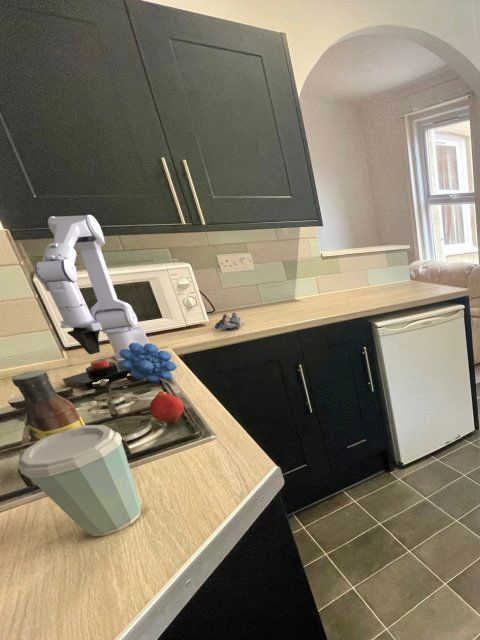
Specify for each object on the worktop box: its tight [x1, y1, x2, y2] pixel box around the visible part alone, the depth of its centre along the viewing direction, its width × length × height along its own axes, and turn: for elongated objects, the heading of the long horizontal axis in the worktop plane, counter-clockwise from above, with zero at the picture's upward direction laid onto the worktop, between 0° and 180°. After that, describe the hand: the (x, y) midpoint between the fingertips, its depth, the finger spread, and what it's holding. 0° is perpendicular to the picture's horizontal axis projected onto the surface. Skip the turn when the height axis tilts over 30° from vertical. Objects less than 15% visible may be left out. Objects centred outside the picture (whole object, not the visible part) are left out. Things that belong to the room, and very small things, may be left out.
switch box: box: [62, 361, 131, 391], centre depth 122 cm, size 14×11×4 cm
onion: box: [149, 390, 185, 424], centre depth 93 cm, size 6×6×8 cm
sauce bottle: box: [11, 369, 86, 442], centre depth 75 cm, size 7×6×20 cm
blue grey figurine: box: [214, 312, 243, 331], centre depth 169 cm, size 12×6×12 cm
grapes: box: [119, 343, 178, 384], centre depth 115 cm, size 12×7×12 cm, turn 118°
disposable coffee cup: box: [17, 424, 142, 538], centre depth 62 cm, size 11×11×15 cm
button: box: [90, 359, 109, 369], centre depth 121 cm, size 4×4×2 cm
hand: (94, 353), depth 120 cm, fingers closed
